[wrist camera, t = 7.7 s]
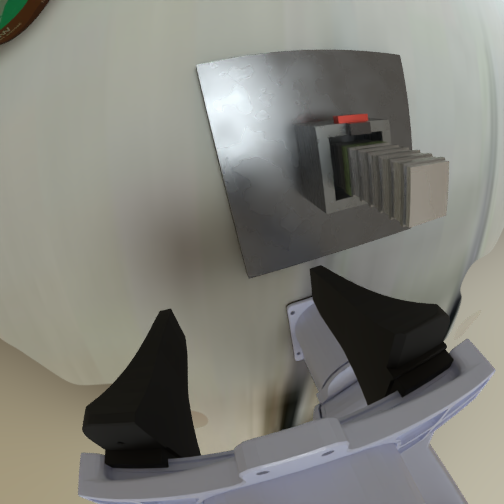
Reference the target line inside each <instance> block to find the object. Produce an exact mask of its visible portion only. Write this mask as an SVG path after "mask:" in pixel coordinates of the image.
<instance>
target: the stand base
mask: <svg viewBox="0 0 504 504" xmlns="http://www.w3.org/2000/svg"><path fill="white" fill-rule="evenodd" d="M196 70H197V74H198V78H199V82H200V86H201V91H202V95H203V99H204V103H205V107H206V112H207V116H208V120H209V124H210V128H211V132H212V136H213V140H214V145H215V149H216V153H217V157H218V161H219V165H220V169H221V173H222V177H223V181H224V185H225V189H226V193H227V197H228V201H229V205H230V209H231V213H232V217H233V221H234V225H235V229H236V232H237V236H238V240H239V244H240V248H241V252H242V256H243V260H244V264H245V267H246V271H247V275H248V277H249V278H253V277H256V276H260V275H263V274H267V273H270V272H273V271H277V270H280V269H283V268H287V267H290V266H293V265H297V264H300V263H303V262H307V261H310V260H313V259H317V258H320V257H323V256H326V255H330V254H333V253H336V252H339V251H342V250H345V249H349V248H352V247H355V246H358V245H361V244H364V243H367V242H371V241H374V240H377V239H380V238H383V237H386V236H389V235H392V234H395V233H398V232H401V231H404V230H407V229H410V228H411V227H410V228H409V227H407V226H405V227H402V226H400V222H399V221H398V220H396V219H392V220H391V219H389V215H388V214H386V213H384V212H383V213H380V212H378V208H376V207H374V206H373V207H370V206H369V204H368V202H366V201H363V202H361V201H360V198H359V197H357V196H356V197H353V196H350V195H348V194H346V193H345V192H344V189H342V188H340V187H339V186H337V185H335V184H334V174H333V165H332V157H331V149H330V144H334V143H340V142H347V141H355V140H362V139H366V140H371V141H376V140H379V141H385V142H388V143H389V145H395V144H397V145H399V147H409V150H412V140H411V127H410V116H409V107H408V99H407V92H406V86H405V79H404V74H403V68H402V63H401V58H400V55H396V54H388V53H379V52H368V51H353V50H298V51H283V52H271V53H262V54H254V55H247V56H240V57H234V58H228V59H223V60H218V61H213V62H208V63H203V64H199V65H196Z"/></svg>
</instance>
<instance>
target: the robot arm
mask: <svg viewBox="0 0 504 504" xmlns="http://www.w3.org/2000/svg"><path fill="white" fill-rule="evenodd" d="M310 276H311V286H312V297H311V298H308V299H305V300H302V301H298V302H295V303H292V304H290V305H288V306H287V314H288V320H289V326H290V332H291V338H292V345H293V351H294V357H295V360H296V361H300V360H303V359H304V361H305V363H306V365H307V367H308V369H309V372H310V374H311V376H312V378H313V380H314V383H315V385H316V387H317V389H318V391H319V392H318V393H317V394H316V395H317V398H318V400H319V402H320V403H319V404H318V405H316V406H315V408H314V415H313V421H310V422H307V423H305V424H302V425H299V426H295V427H292V428H289V429H286V430H282V431H279V432H276V433H272V434H268V435H265V436H261V437H257V438H253V439H250V440H247V441H244V442H242V443H241V444H239V445H238V446H236V447H235V448H234V450H231V451H226V452H220V453H214V454H208V455H201V454H200V450H199V447H198V443H197V439H196V435H195V430H194V426H193V421H192V415H191V410H190V403H189V397H188V361H187V346H186V339H185V335H184V333H183V331H182V330H181V328H180V326H179V324H178V322H177V320H176V318H175V316H174V314H173V312H172V310H171V309H167V310H163V311H160V312H159V314H158V316H157V317H156V319H155V321H154V323H153V325H152V327H151V329H150V331H149V333H148V335H147V336H146V338H145V340H144V342H143V343H142V345H141V347H140V348H139V350H138V352H137V353H136V355H135V357H134V358H133V359H132V361H131V362H130V364H129V365H128V366H127V368H126V369H125V370H124V371H123V373H122V374H121V375H120V376H119V377H118V378H117V380H116V381H115V382H114V383H113V384H112V385H111V386H110V387H109V388H108V389H107V390H106V391H105V392H104V393H103V394H102V395H100V396H99V397H98V398H97V399H95V400H94V401H93V402H92V403H90V404H89V405H88V406H87V407H86V409H85V415H84V421H83V427H82V430H83V432H84V434H85V435H86V436H87V437H88V438H89V439H90V440H92V441H93V442H94V443H96V444H98V445H99V446H101V447H102V448H103V449H105V455H102V454H97V453H81V458H80V469H79V486H78V487H79V488H78V495H79V496H80V497H82V498H85V499H87V500H90V501H92V502H95V503H98V504H468V503H467V501H466V500H465V498H464V496H463V495H462V493H461V491H460V490H459V488H458V486H457V485H456V484H455V482H454V480H453V479H452V477H451V475H450V474H449V472H448V471H447V469H446V468H445V466H444V465H443V463H442V462H441V460H440V458H439V457H438V455H437V454H436V452H435V451H434V449H433V448H432V446H431V445H430V440H431V438H432V436H433V434H434V431H435V430H437V429H438V428H439V427H441V426H442V425H443V424H444V423H446V422H447V421H448V420H449V419H451V418H452V417H453V416H455V415H456V414H457V413H458V412H459V411H461V410H462V409H463V408H464V407H465V406H467V405H468V404H469V403H470V402H471V401H472V400H474V399H475V398H476V397H477V395H478V394H479V393H480V392H481V390H482V389H483V388H484V386H485V385H486V384H487V382H488V381H489V380H490V378H491V377H492V375H493V374H494V373H495V368H494V367H493V366H492V365H491V364H490V363H489V361H488V360H487V359H486V358H485V357H484V356H483V355H482V353H480V351H479V350H478V349H477V348H476V347H475V346H474V345H473V343H472V342H470V340H469V339H466V340H464V341H463V342H462V343H460V344H459V345H457V346H456V347H455V348H453V349H452V350H451V351H450V353H448V352H447V351H446V350H445V349H446V348H447V346H446V344H445V343H444V342H443V340H444V337H445V335H446V332H447V330H448V327H449V322H450V318H449V316H448V315H447V314H446V313H445V312H444V311H443V310H442V309H441V308H440V307H439V306H438V305H437V304H426V303H416V302H409V301H404V300H399V299H395V298H391V297H388V296H384V295H381V294H378V293H376V292H373V291H370V290H368V289H365V288H363V287H361V286H359V285H356V284H354V283H352V282H350V281H348V280H347V279H345V278H343V277H341V276H339V275H337V274H336V273H334V272H332V271H330V270H328V269H327V268H325V267H323V266H321V265H320V266H317V267H314V268H311V269H310ZM292 311H293V312H292ZM291 312H292V313H291Z"/></svg>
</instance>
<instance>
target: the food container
mask: <svg viewBox="0 0 504 504" xmlns="http://www.w3.org/2000/svg"><path fill="white" fill-rule="evenodd" d="M48 2H49V0H0V44H3V43H5V42H8V41H10V40H12V39H13V38H15V37H16V36H17V35H19V34H20V33H21V32H22V31H24V30H25V29H26V28H27V27H28V26H29V25H30V24H31V23H32V22H33V21H34V20H35V19H36V17H37V16H38V15H39V14H40V13H41V11H42V10H43V9H44V7H45V6H46V5H47V3H48Z"/></svg>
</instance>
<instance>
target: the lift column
mask: <svg viewBox="0 0 504 504" xmlns="http://www.w3.org/2000/svg"><path fill="white" fill-rule="evenodd" d="M330 149H331V157H332V165H333V174H334V184H335V185H337V186H339V187H340V188H342V189H344V192H345V193H346V194H348V195H350V196H353V197H356V196H357V197H359V198H360V201H361V202H363V201H366V202H368V204H369V206H370V207H373V206H374V207H376V208H378V212H380V213H383V212H384V213H386V214H388V215H389V219H391V220H392V219H396V220H398V221H399V222H400V226H402V227H405V226H407V227H409V228H410V227H413V226H416V225H419V224H422V223H425V222H428V221H431V220H434V219H437V218H440V217H442V216H445V215H446V211H447V199H448V182H449V161H446V160H445V158H444V157H437V158H436V157H433V156H432V154H431V153H425V154H423V153H420V150H409V147H399V145H397V144H395V145H389V143H388V142H385V141H379V140H376V141H371V140H366V139H362V140H355V141H347V142H340V143H334V144H330Z"/></svg>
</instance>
